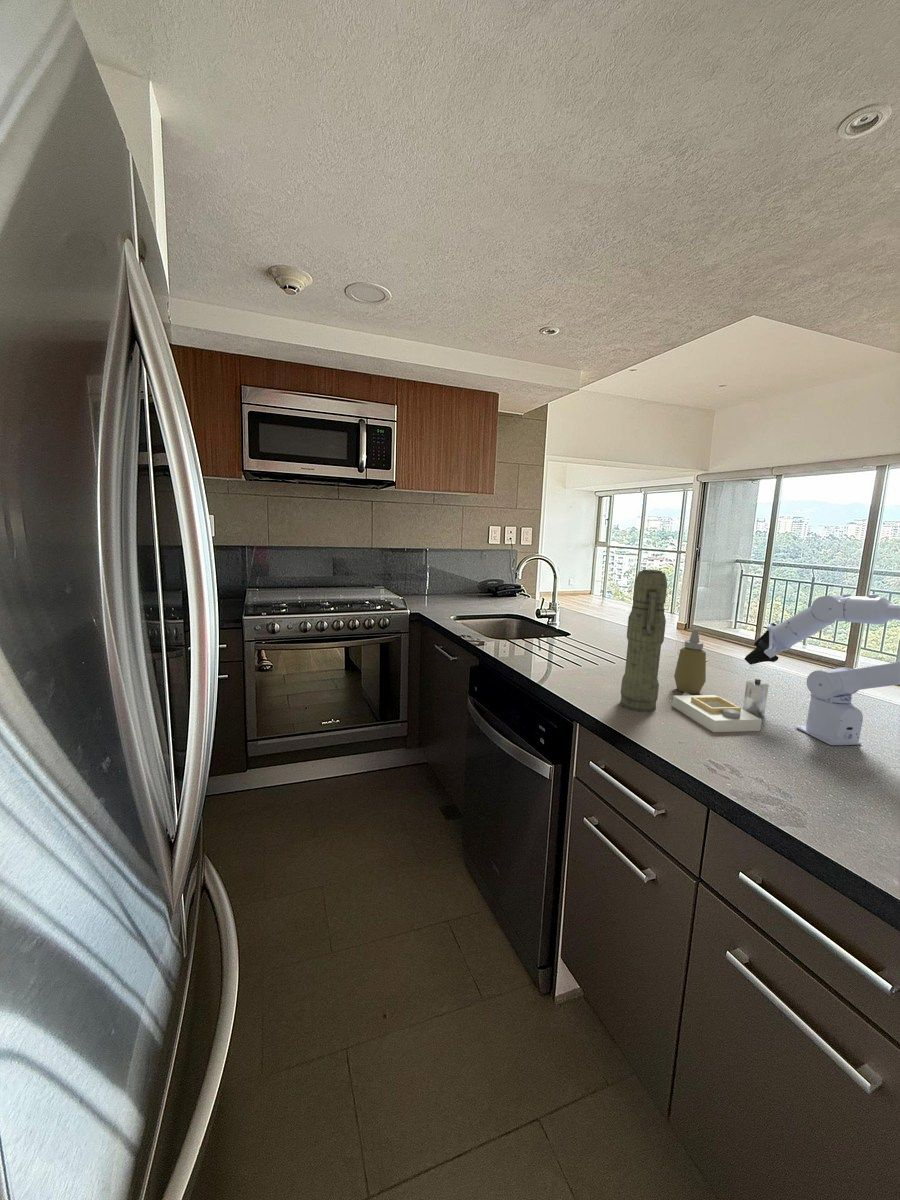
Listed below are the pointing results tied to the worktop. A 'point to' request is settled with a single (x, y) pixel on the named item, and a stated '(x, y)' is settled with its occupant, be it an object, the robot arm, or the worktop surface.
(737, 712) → the white holder tray
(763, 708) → the spout can
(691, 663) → the squeeze bottle
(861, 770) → the worktop surface
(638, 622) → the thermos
